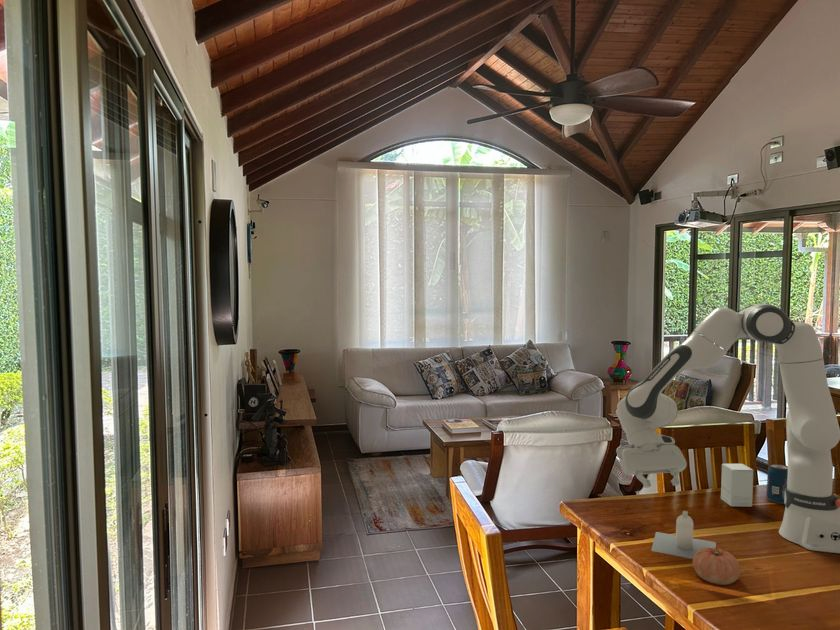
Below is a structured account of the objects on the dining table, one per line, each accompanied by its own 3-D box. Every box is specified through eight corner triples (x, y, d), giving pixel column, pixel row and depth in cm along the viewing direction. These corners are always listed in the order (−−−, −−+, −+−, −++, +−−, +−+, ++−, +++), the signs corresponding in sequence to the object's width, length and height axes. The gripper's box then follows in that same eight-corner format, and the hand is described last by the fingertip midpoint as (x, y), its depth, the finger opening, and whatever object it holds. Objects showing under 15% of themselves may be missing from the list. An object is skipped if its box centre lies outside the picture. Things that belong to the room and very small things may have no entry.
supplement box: (752, 507, 201) (754, 469, 200) (730, 506, 201) (731, 469, 200) (741, 498, 208) (742, 463, 207) (720, 498, 208) (721, 462, 208)
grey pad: (715, 545, 172) (715, 542, 171) (715, 566, 159) (715, 563, 159) (655, 535, 179) (655, 531, 179) (651, 554, 166) (651, 550, 166)
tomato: (686, 569, 158) (687, 539, 157) (729, 571, 157) (730, 541, 156) (701, 590, 147) (702, 559, 146) (747, 593, 146) (748, 561, 145)
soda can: (770, 495, 212) (771, 461, 211) (792, 500, 207) (794, 466, 206) (763, 500, 207) (764, 465, 206) (786, 505, 202) (787, 470, 201)
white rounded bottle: (692, 545, 170) (694, 511, 169) (692, 551, 166) (693, 516, 165) (676, 541, 172) (677, 508, 171) (675, 548, 168) (676, 513, 167)
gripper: (618, 441, 183) (635, 483, 174) (678, 437, 187) (697, 478, 178) (610, 451, 188) (626, 492, 179) (669, 447, 192) (687, 488, 183)
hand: (662, 485), depth 178 cm, fingers open, 8 cm apart
